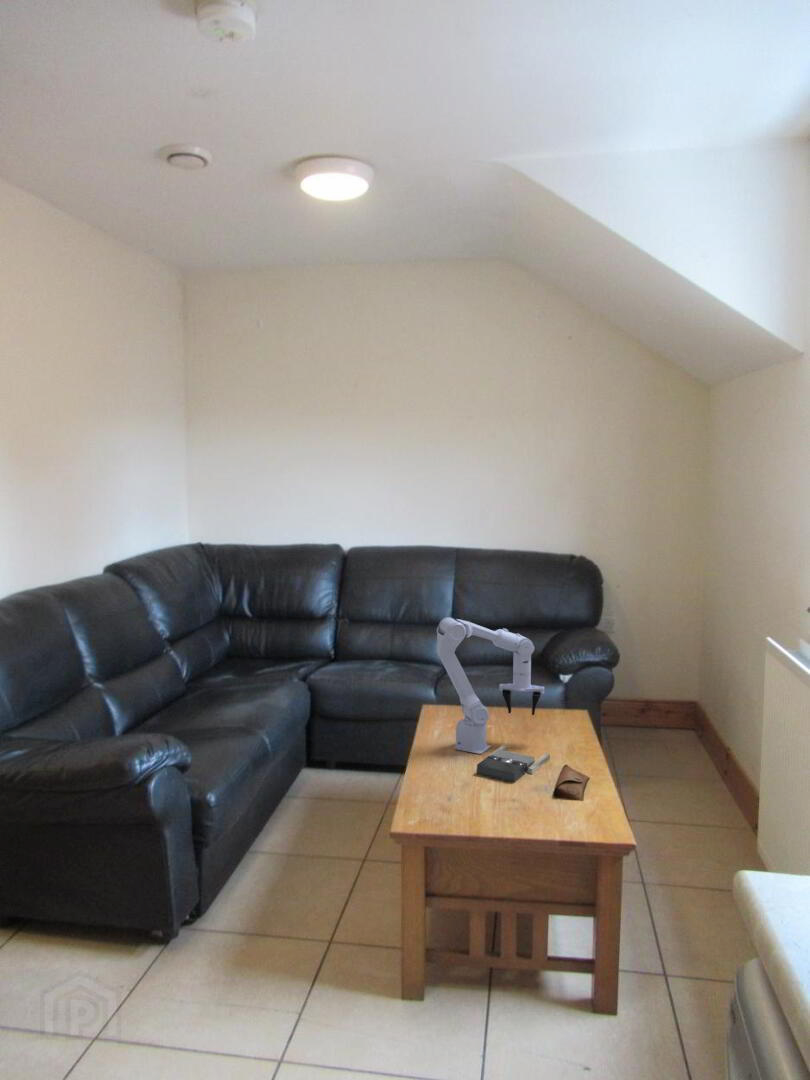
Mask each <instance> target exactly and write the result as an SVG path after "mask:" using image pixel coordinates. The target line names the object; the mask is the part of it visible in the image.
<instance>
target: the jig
mask: <svg viewBox="0 0 810 1080" xmlns="http://www.w3.org/2000/svg"><path fill="white" fill-rule="evenodd" d="M508 749H509V747H508V745H507V744H502V745H501V746H499V747H498V748H497V749H496V750H493V752H491V753H490V754H488V755H487V756H486V757H485V758H487V757H488V756H491V755H492V754H493V753H494V752H496V751H497V750H504V751H508ZM485 758H484V759H485ZM484 759H483V760H484ZM550 759H551V754H550V753H544V754H542V756H540V757H539V758H538V759H537V760H536V761H535V763H533V764H532V765H531V766H530V767H529V768H528V772H527V773H528V774H531V775H533V774H534V773H535V772H537V771H538V770H539V769H540V768H541V767H542V766H544V765H545V764H546V763H547V762H548V761H549V760H550Z"/></svg>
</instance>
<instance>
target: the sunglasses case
mask: <svg viewBox="0 0 810 1080" xmlns="http://www.w3.org/2000/svg"><path fill="white" fill-rule="evenodd" d="M589 778H590V777H589V776H588V775H587V774H583V773H581V771H578V770H576V769H574V768H572V767H571V766H569V765H568V764H564V765H563V766H562V769H561V770H560V772H559V775H558V777H557V780H556V782H555V786H554V789H553V796H554V798H555V799H561V800H569V801H578V802H583V801H584V796H585V791H586V787H587V783H588V782H589V780H590V779H589Z"/></svg>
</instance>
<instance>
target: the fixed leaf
mask: <svg viewBox="0 0 810 1080" xmlns="http://www.w3.org/2000/svg"><path fill="white" fill-rule="evenodd" d="M487 756H488V757H487ZM487 756H486V757H487V758H486V757H485V759H483V760H481V761H480V762H479V763H477V764H476V774H477V775H479V776H483V777H487V778H491V779H494V780H495V779H496V780H501V781H505V782H509V783H512V784H514V783H516V782H517V781H518V780H520V778H522V777H523V776H524V775H525V774H527V773H526V769H527V765H526V764H525V763H521V762H516V761H514V762H513V763H512V764H511V763H506V762H501V761H500V760H501V759H500V758H497V757H493V756H489V755H487Z"/></svg>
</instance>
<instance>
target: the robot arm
mask: <svg viewBox="0 0 810 1080" xmlns="http://www.w3.org/2000/svg"><path fill="white" fill-rule="evenodd" d="M436 634H437V635H436V636H437V638H436V652H437V655H438V657H439V659H440V661H441V663H442V665H443V667H444V668H445V670H446V673H447V675H448V677H449V679H450V681H451V683H452V685H453V686H454V688H455V691H456V692H457V694H458V696H459V702H460V704H461V712H462V714H463V715H464V718H463V719H459V720H458V721H457V723H456V727H455V746H454V749H455V750H459V751H463V752H468V753H472V754H477V755H482V754H483V753H485V752H486V751H487V750H489V749H490V748H491V747H492V745H490V744H487V721H488V720H489V719H490V718H489V717H490V712H489V709H488V707H486V706H485V705H483V703H482V702H481V700H480V699H479V698H478V695H477V694H476V693H475V691H474V688H473V687H472V684H471V683H470V681H469V679H468V676H467V675H466V673H465V671H464V669H463V666H462V665H461V663H460V661H459V659H458V657H457V655H456V654H455V652H456V650H457V647H458V646H459V645H460V644H461V642H462V641H463V640H464V639H465V638H467V639H468V638H470V637H471V636H475V637H479V638H482V639H486V640H489V641H492V643H493V645H494V646H495V647H498V648H501V649H504V650H507V651H509V652H513V661H512V663H513V664H512V665H513V666H512V669H513V671H512V673H513V675H512V683H500V684H499V692H502V693H501V694H502V697H503V698H504V701H505V703H506V706H507V711H508V714H511V712H512V692H516V693H517V692H520V693H532V701H531V702H532V708H531V716H535V714H536V713H535V712H536V707H537V704H538V702H539V700H540V698H541V695H544V694H545V686H541V685H535V684H532V683H531V680H532V675H531V673H532V654H533V653H534V651H535V646H534V643H533V641H532V640H531V639H529V638H528V637H525V636H523V635H521V634H520V633H514V632H510V631H509V629H507V628H504V627H503V628H502V629H501V628H499V629H496V630H491V629H489V628H487V627H485V626H482V625H478V624H476V623H473V622H471V621H468V620H464V619H460V618H459V619H458V618H453V617H451V616H450V617H449V616H448V617H444V618H442V619H441V620H440V621H439V624H438V625H437V628H436Z"/></svg>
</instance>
